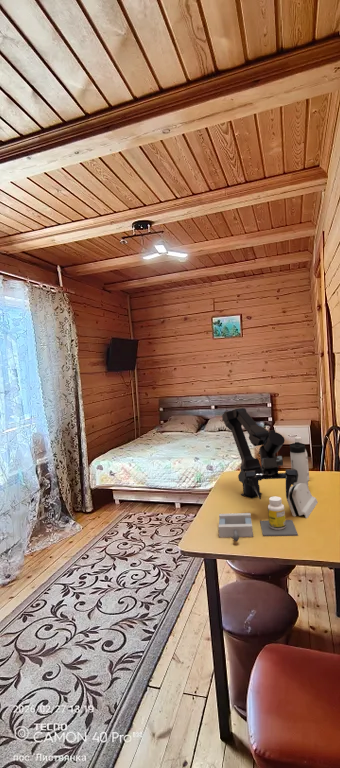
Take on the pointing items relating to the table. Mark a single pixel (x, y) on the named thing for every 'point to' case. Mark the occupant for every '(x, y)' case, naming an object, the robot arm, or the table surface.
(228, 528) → the vise
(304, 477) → the travel mug
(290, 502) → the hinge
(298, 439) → the bath foam
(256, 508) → the table surface
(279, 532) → the pad
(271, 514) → the supplement bottle
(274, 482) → the table surface
